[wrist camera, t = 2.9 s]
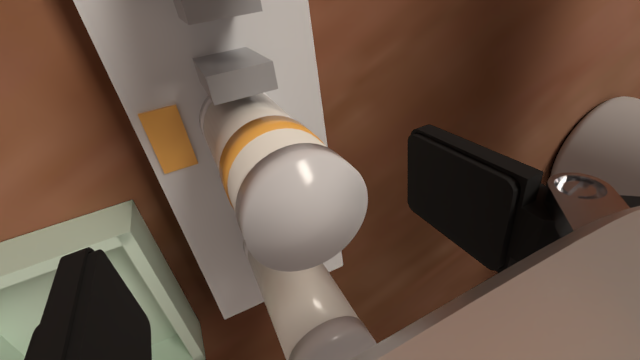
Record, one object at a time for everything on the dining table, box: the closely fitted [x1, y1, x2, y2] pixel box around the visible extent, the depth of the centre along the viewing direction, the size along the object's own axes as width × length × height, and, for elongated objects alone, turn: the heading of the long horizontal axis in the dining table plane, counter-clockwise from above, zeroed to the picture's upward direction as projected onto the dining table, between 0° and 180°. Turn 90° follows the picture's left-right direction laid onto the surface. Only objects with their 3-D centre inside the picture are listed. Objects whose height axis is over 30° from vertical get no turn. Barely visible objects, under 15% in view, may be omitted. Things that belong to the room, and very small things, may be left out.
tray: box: [0, 200, 206, 360], centre depth 18 cm, size 11×9×3 cm
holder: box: [73, 0, 343, 319], centre depth 15 cm, size 26×9×6 cm, turn 10°
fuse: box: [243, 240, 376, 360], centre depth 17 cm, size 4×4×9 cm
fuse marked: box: [199, 92, 368, 272], centre depth 13 cm, size 4×4×9 cm
